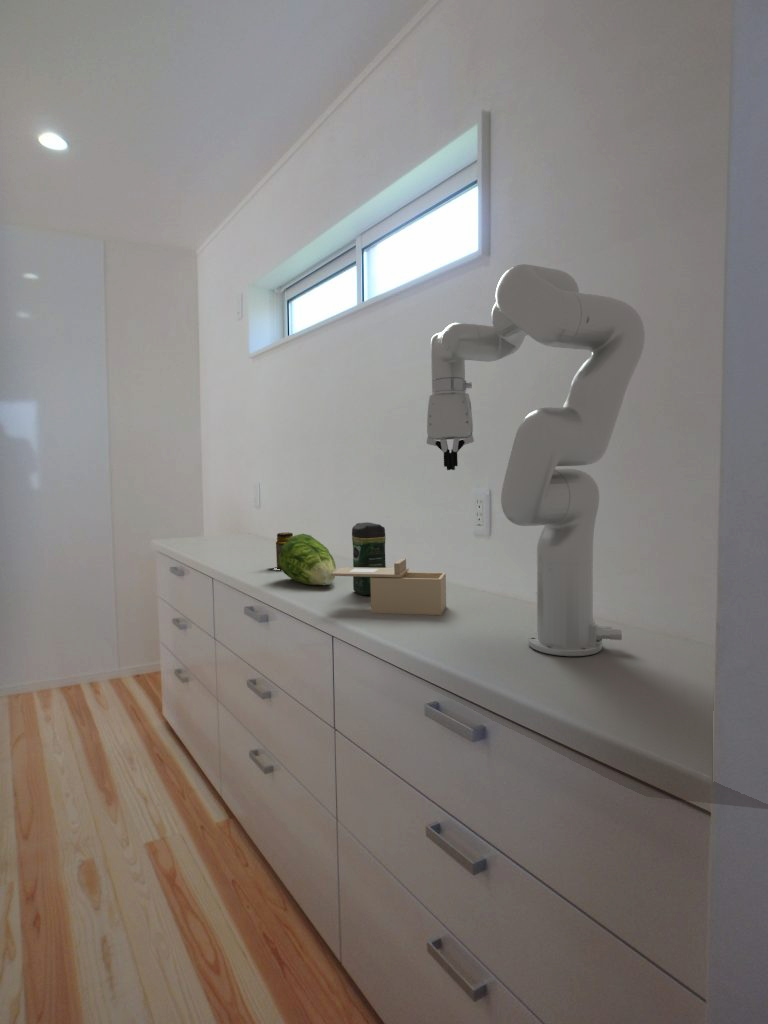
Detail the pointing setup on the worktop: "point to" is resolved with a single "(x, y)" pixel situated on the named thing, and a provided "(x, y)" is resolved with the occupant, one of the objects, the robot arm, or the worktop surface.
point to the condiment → (280, 542)
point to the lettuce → (307, 560)
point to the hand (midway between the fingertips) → (450, 469)
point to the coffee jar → (367, 552)
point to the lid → (374, 571)
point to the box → (409, 594)
